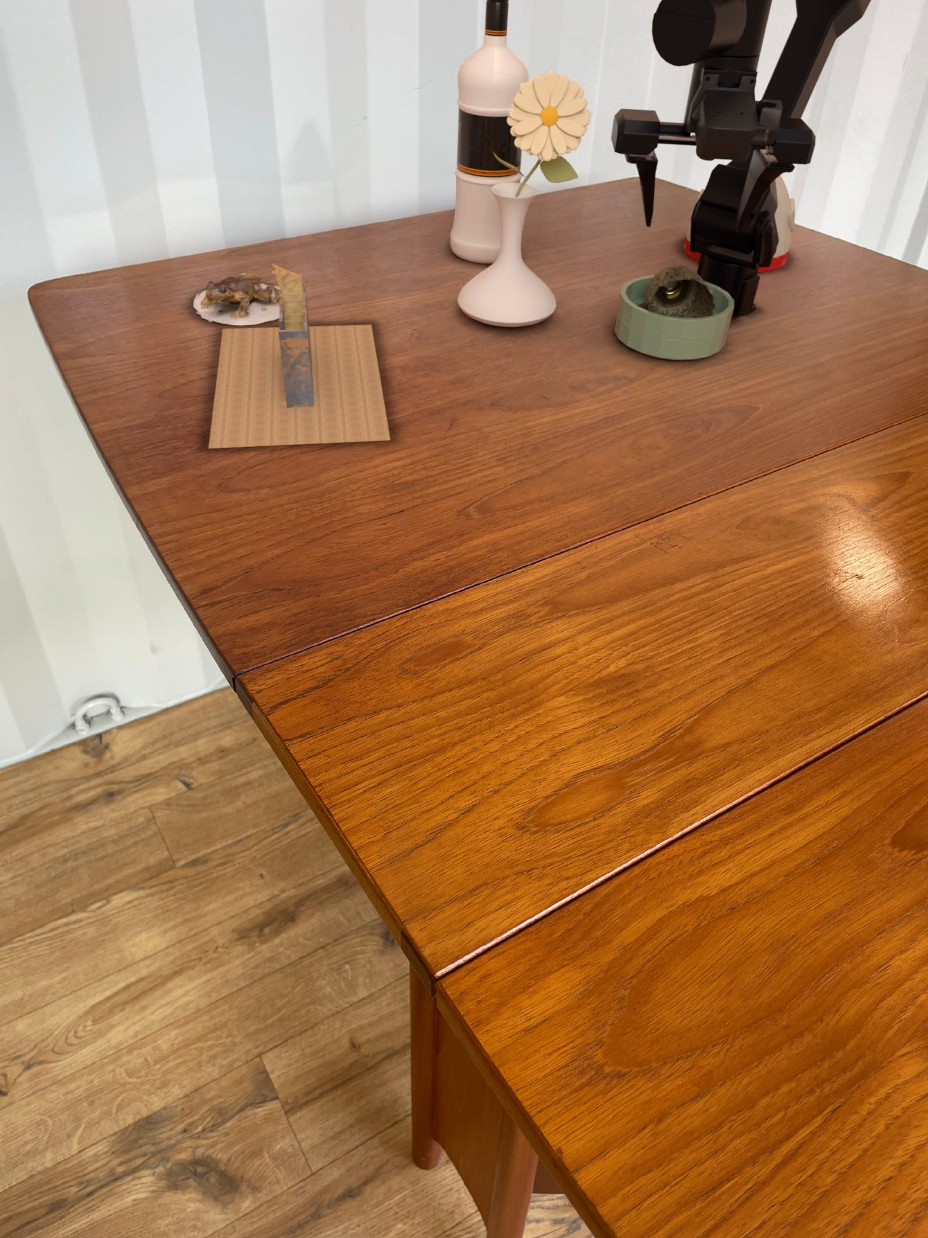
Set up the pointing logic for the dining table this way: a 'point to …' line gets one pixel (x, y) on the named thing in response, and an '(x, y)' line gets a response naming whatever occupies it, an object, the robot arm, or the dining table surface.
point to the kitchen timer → (783, 223)
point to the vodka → (485, 139)
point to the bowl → (671, 325)
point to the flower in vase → (528, 201)
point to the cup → (679, 294)
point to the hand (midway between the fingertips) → (692, 228)
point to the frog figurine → (239, 300)
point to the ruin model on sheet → (297, 380)
